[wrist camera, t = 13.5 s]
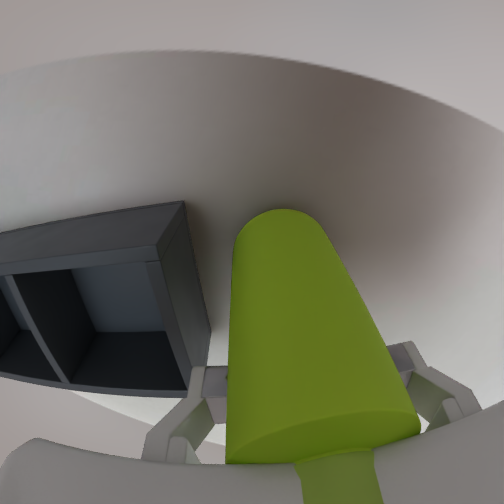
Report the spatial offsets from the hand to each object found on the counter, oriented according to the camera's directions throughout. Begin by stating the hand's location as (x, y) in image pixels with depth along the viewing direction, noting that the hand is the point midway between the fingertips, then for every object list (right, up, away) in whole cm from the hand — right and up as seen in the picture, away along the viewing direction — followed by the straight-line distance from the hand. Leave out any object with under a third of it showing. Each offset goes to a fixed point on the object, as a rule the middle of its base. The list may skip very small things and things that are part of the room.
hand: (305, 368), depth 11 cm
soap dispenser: (-1, +4, +8) cm, 9 cm away
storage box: (-16, +2, +10) cm, 19 cm away
